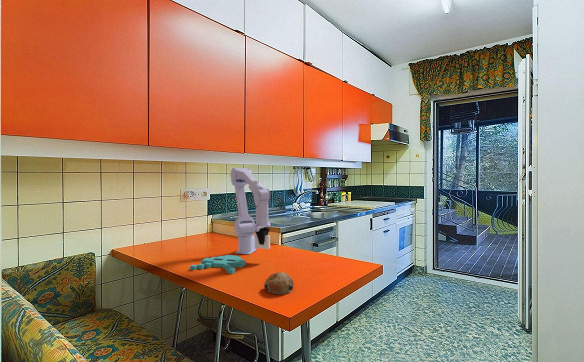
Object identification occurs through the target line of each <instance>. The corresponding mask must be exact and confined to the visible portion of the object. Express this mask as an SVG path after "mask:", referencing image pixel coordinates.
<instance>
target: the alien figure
mask: <svg viewBox="0 0 584 362" xmlns="http://www.w3.org/2000/svg"><path fill="white" fill-rule="evenodd" d="M246 265H247V260H244V259H243V258H242V257H240V256H239V255H232V254H225V255H219V256H211V257H206V258H203V259H202V260H201V263H199V264H191V265H190V266H189V270H190V271H193V270H195V271H196V269H197V270H203V268H204V269H211V268H221V267H223V268H222V269H223V270H224V269H225V272H226V271H228V272H227V274H228V273H229V275H234V274H235V273H236V268H243V267H245V266H246ZM210 267H211V268H210Z"/></svg>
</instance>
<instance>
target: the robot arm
mask: <svg viewBox="0 0 584 362" xmlns="http://www.w3.org/2000/svg"><path fill="white" fill-rule="evenodd" d="M230 180H231V185H232V186H234V192H235V197H236V204H237V212H238V218H236V219H235V221H234V228H233V230H234V233H235V234H236V236H237V238H238V239H237V240H238V244H237V245H238V249H237V251H236V252H235V254H239V255H240V254H242V255H251V254H252V253H254V252H256V251H257V249H258V248H255V235H257V237H258V241H259V244H260V245H264V242H265V235H269V232H270V231H271V228H270V227H271V222H270V221H269V202H270V201H271V191H270V189H269V188H264V186H263V185H262V183H260V182H259V180H255V178H254V176H253V172H252V169H251V167H232V168H231V170H230ZM246 185H248V189H249V190H250V192H251V193H252V194H253V200H254V205H255V220H254V218H253V217H251V216H250V215H249V209H248V203H247V197H246V191H245V190H246V189H245V186H246Z"/></svg>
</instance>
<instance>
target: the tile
mask: <svg viewBox="0 0 584 362" xmlns="http://www.w3.org/2000/svg"><path fill="white" fill-rule="evenodd" d="M254 237H255V249H264V250H269V249H271V235H269V234H268V235H265V242H264V245H260V244H259V241H258V237H257V235H256V234H254Z"/></svg>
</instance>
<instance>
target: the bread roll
mask: <svg viewBox="0 0 584 362" xmlns="http://www.w3.org/2000/svg"><path fill="white" fill-rule="evenodd" d="M294 284H295V283H294V280H293V278H292V277H291V276H290V275H289V274H287V273H286V272H282V271H280V272H279V271H278V272H274V273H271V274H270V275H269V276H268V277H267V278H266V279H265V282H264V283H263V287H264V289H265V291H266V292H267V293H269V294H272V295H286V294H290V293H292V291H293V289H294V286H295V285H294Z"/></svg>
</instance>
